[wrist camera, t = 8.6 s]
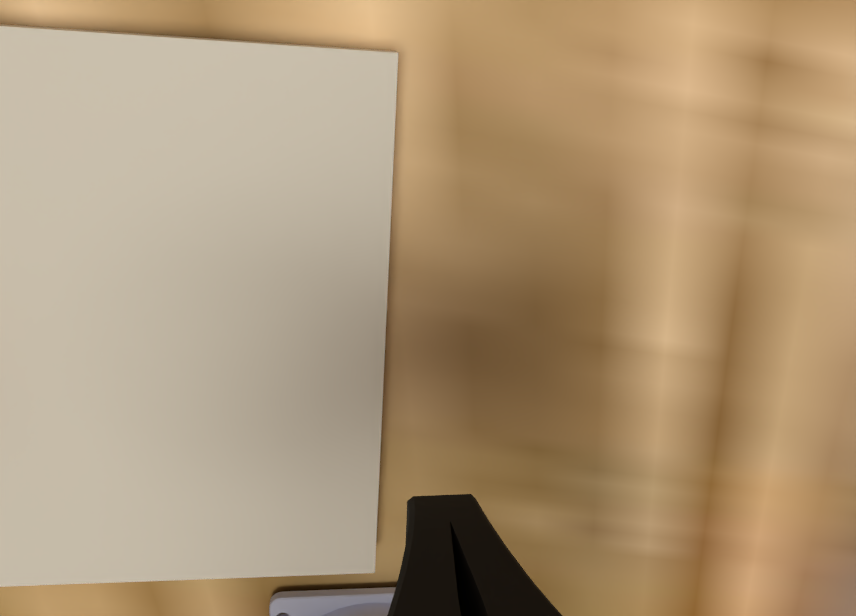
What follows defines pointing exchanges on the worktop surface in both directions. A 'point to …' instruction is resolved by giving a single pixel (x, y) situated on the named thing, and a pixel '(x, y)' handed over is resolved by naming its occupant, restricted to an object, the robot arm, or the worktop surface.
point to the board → (190, 305)
